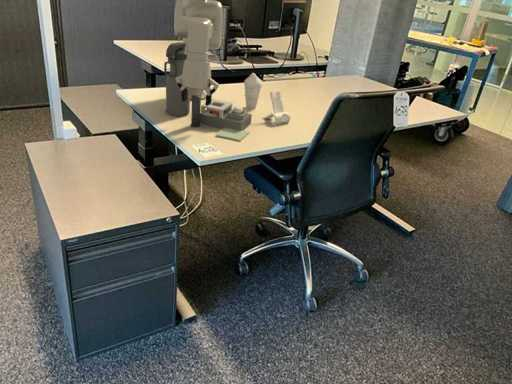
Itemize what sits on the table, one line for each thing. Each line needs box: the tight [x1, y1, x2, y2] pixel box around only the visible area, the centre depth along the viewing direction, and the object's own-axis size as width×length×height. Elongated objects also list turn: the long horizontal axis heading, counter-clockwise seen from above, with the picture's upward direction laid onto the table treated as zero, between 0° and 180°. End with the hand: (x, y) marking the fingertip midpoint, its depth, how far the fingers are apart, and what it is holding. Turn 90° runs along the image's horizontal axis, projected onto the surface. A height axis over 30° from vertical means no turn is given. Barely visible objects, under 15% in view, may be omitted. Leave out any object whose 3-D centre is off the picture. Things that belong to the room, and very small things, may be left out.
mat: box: [215, 128, 250, 142], centre depth 161 cm, size 10×10×1 cm
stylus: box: [190, 95, 202, 128], centre depth 163 cm, size 3×3×12 cm
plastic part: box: [262, 90, 291, 126], centre depth 178 cm, size 8×10×12 cm
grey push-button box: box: [200, 98, 253, 131], centre depth 170 cm, size 18×12×7 cm, turn 72°
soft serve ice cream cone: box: [243, 72, 263, 110], centre depth 190 cm, size 8×8×16 cm
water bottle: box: [163, 41, 191, 117], centre depth 171 cm, size 10×10×28 cm
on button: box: [233, 106, 244, 114], centre depth 167 cm, size 4×4×2 cm
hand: (196, 102), depth 161 cm, fingers open, 9 cm apart
